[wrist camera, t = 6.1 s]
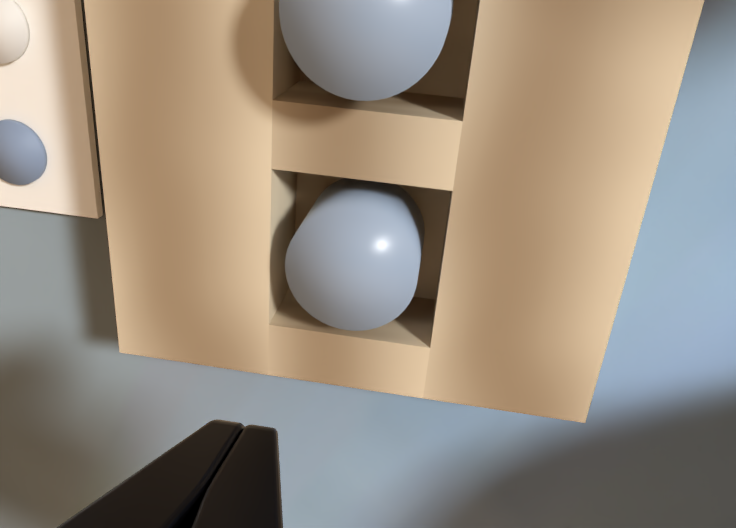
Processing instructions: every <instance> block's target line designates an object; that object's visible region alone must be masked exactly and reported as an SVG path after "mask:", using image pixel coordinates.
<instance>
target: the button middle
mask: <svg viewBox="0 0 736 528" xmlns="http://www.w3.org/2000/svg"><path fill="white" fill-rule="evenodd" d="M452 13H453V0H279V18H280V25H281V30H282V34H283V37H284V40H285V43H286V45H287V48H288V50H289V52H290V54H291V56H292V57H293V59H294V61H295V62H296V64H297V65H298V66H299V68H300V69H301V70H302V71H303V72H304V73H305V75H306V76H307V77H308V78H309V79H311V80H312V81H313V82H314V83H315V84H317V85H318V86H320V87H321V88H323V89H324V90H326V91H328V92H330V93H332V94H334V95H336V96H340V97H343V98H346V99H351V100H357V101H373V100H380V99H385V98H389V97H391V96H394V95H397V94H399V93H401V92H403V91H405V90H407V89H408V88H410V87H411V86H412V85H414V84H415V83H417V82H418V81H419V80H420V79H421V78H422V77H423V76H424V75H425V74H426V73H427V72H428V70H429V69H430V68H431V67H432V66H433V64H434V62H435V61H436V59H437V58H438V56H439V54H440V52H441V50H442V47H443V45H444V42H445V39H446V36H447V33H448V29H449V26H450V23H451V18H452Z"/></svg>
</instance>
